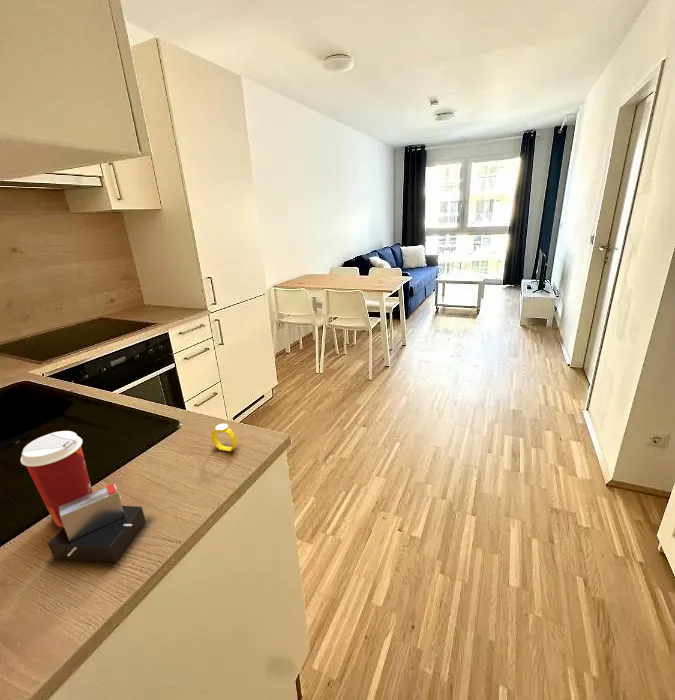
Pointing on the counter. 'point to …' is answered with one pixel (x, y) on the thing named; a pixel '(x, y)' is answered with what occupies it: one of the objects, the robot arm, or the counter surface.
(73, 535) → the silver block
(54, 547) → the black square block
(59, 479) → the coffee cup
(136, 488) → the counter surface
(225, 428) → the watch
